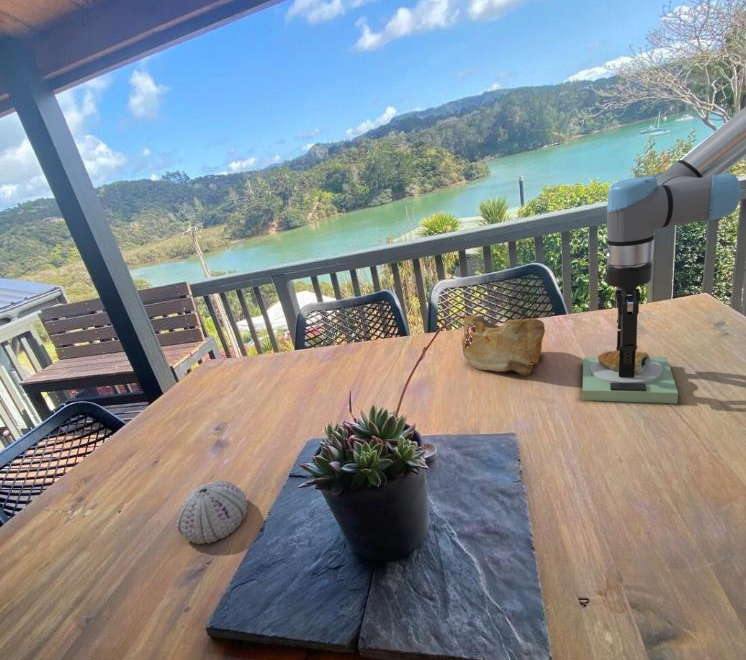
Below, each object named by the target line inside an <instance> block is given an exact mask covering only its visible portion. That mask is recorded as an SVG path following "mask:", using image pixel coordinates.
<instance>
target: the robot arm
mask: <svg viewBox="0 0 746 660" xmlns="http://www.w3.org/2000/svg"><path fill="white" fill-rule="evenodd" d="M745 158H746V106H744V107H743V108H742V109H741V110H739V111H738V112H737V113H736V114H735V115H733V116H732V117H731V118H730V119H729V120H727V121H726V122H724V124H722V125H721V126H720V127H718V128H717V129H716V130H715V131H714V132H712V133H711V134H710V135H708V137H706V138H705V139H704V140H703V141H701V142H700V143H698V145H696V146H695V147H694V148H693V149H691V150H690V151H689V152H687V153H686V154H685V155H684V156H683V157H682V158H680V159H679V160H677V161H676V162H675V163H673V164H672V165H671V166H669V167H668V168H667V169H666V170H665V171H662V172H659V173H656V174H652V175H650V176H639V177H632V178H627V179H622V180H619V181H617V182H614V183H613V184H611V186H609V189H608V194H607V206H606V212H607V213H606V224H607V225H606V228H607V229H606V231H607V232H606V235H607V236H606V237H607V238H606V248H603V250H602V253H603V254H606V264H608V265H606V268H605V270H606V272H605V274H606V275H605V282H606V284H607V285H608V286H610V287H613V288H618V289H616V290H615V299H616V308H617V319H616V323H617V326H616V329H617V332H616V335H617V336H616V346H615V347H616V350H615V351H619V377H634V375H635V353H636V351H637V350H638V345H637V344H638V343H637V341H638V314H639V313H640V301H641V292H640V288H637V287H640V286H645V285H647V284H649V283H650V282H651V281H652V277H653V276H652V275H653V263H652V261H653V259H654V250H655V249H654V248H655V230H656V229H662V228H663V229H664V228H667V227H674V226H680V225H681V226H682V225H687V224H694V223H700V222H711V221H712V220H718V219H721V218H725V217H726V218H727V217H729V216H730V215H732V214H733V213H734V212H735V211H736V209H738V206H739V204H740V201H741V193H742V188H741V187H742V186H741V182H740V180H739V178H738V177H737V176H736V175H734V173H728V171H729V170H731V169H732V168H734V166H736V165H737V164H739V163H740V162H741V161H743V160H744V159H745ZM726 172H727V173H726Z"/></svg>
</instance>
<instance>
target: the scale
mask: <svg viewBox="0 0 746 660" xmlns="http://www.w3.org/2000/svg"><path fill="white" fill-rule="evenodd" d="M597 357H598V356H584V357H583V358H582V363H583V365H582V401H599V402H624V403H625V402H627V403H628V402H629V403H655V404H657V403H658V404H678V401H679V400H678V399H679V392H678V388H677V386H676V381H675V378H674V376H673V373H672V370H671V367H670V363H669V359H668V357H667V356H649V357H650V365H649V366H647V367H646V368H645V369H644V371H643V372H642V373H640V374H639V375H634V377H619V372H617V371H615V370H611V369H610V368H606V367H605V366H603V365H601V364H600V363H599V360H598V358H597Z"/></svg>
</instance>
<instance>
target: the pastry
mask: <svg viewBox="0 0 746 660" xmlns="http://www.w3.org/2000/svg"><path fill="white" fill-rule="evenodd" d="M596 357H597V358H598V360H599V363H600V364H601V365H603V366H605V367H606V368H610V369H611V370H615V371H617V372H619V351H617V350H612V351H611V350H609V351H605V352H603V353H601V354H599V355H597V356H596ZM650 357H651V356H650V355H649V354H648V352H646V351H645V352H641V351H637V350H636V353H635V375H639V374H640V373H642V372H643V371H644V369H645V368H646V367H647V366H649V365H650Z"/></svg>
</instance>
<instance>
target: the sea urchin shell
mask: <svg viewBox="0 0 746 660" xmlns="http://www.w3.org/2000/svg"><path fill="white" fill-rule="evenodd" d="M246 496H247V494H245V491H243V490H241V487H238V486H236V484H235V483H234V484H233V482H230V481H226V480H214V481H212V482H209V483H205V484H204V483H203V484H200V485H199V486H197V487H195V488H194V489H193V490H192V491H190V492H189V493H188V495H187V497H186V499H185V500H184V502H182V505H181V506H180V509H179V510H178V511H179V512H178V514H177V520H176V522H175V523H176V528H177V532H179V534H180V535H181V536H182V537H183V538H185V539H186V541H190V542H191V543H192V544H197V545H200V544H201V545H205V544H206V543H207V544H209V545H210V544H211V543H215V542H217V541H218V540H220V539H225V538H226V537H229V535H230V534H232V533H234V532H235V530H237V528H238V527H239V526H241V523H242V522H243V521H244V520H245V518H246V515H247V513H248V510H247V509H248V502H247V501H248V499H247V497H246Z"/></svg>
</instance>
